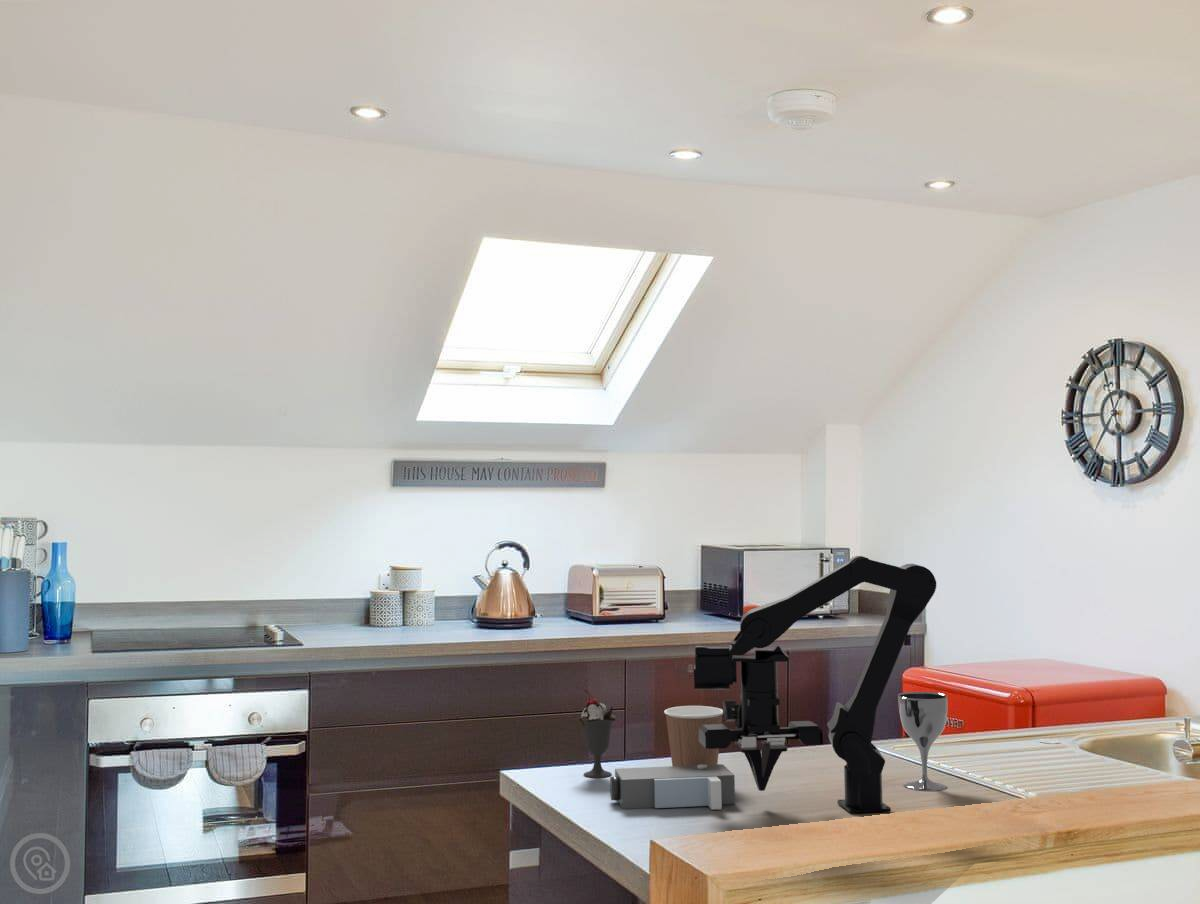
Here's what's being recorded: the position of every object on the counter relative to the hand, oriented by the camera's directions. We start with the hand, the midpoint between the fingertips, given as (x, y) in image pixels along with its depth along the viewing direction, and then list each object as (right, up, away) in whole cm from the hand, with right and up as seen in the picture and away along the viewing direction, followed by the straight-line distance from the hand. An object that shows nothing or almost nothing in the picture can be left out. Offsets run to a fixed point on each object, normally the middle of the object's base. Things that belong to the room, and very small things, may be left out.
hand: (761, 790), depth 182 cm
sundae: (-26, -4, +23) cm, 35 cm away
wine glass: (+29, -3, +12) cm, 32 cm away
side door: (-12, -2, -1) cm, 12 cm away
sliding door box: (-13, -3, +5) cm, 14 cm away
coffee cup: (-9, -4, +18) cm, 20 cm away
